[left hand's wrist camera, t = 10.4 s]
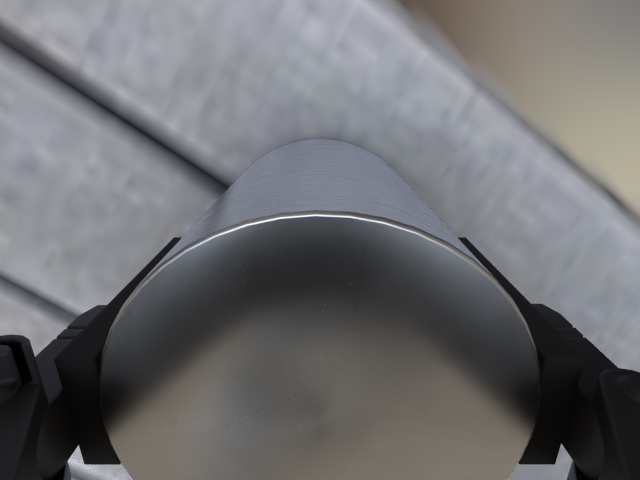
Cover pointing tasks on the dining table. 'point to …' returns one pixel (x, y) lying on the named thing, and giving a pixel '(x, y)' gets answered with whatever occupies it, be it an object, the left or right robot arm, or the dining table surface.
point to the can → (319, 338)
